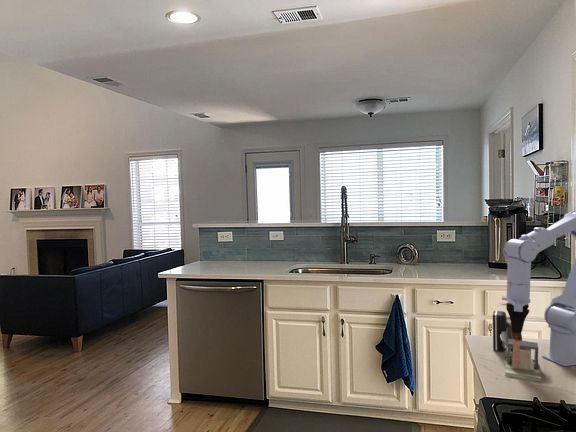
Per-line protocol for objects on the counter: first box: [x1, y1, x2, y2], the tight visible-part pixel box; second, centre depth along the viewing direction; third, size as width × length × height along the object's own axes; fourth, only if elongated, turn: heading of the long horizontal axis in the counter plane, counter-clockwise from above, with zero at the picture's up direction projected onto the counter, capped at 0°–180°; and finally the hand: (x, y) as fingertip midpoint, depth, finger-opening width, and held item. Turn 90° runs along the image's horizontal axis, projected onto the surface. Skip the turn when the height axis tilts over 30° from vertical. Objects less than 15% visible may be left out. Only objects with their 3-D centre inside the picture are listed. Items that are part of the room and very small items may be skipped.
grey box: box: [507, 339, 539, 369], centre depth 126 cm, size 4×7×6 cm, turn 64°
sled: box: [511, 339, 534, 372], centre depth 125 cm, size 8×5×8 cm
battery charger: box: [492, 310, 508, 352], centre depth 141 cm, size 7×4×11 cm, turn 152°
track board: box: [504, 354, 542, 383], centre depth 125 cm, size 14×8×1 cm, turn 154°
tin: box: [500, 316, 523, 352], centre depth 143 cm, size 15×3×8 cm, turn 169°
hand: (516, 330), depth 126 cm, fingers open, 3 cm apart
